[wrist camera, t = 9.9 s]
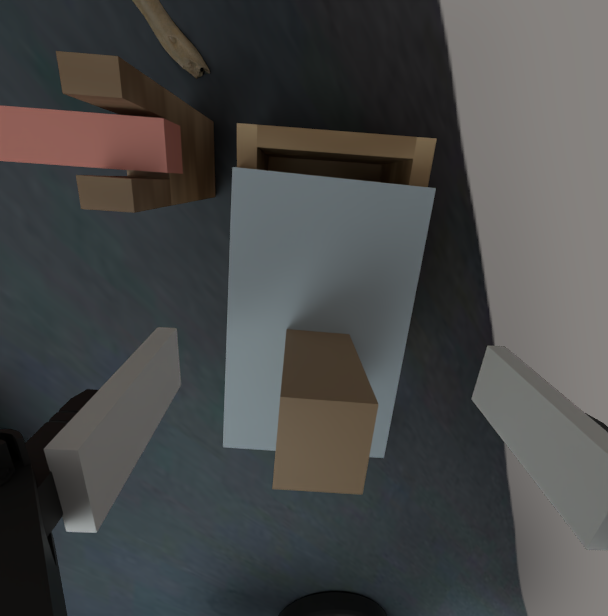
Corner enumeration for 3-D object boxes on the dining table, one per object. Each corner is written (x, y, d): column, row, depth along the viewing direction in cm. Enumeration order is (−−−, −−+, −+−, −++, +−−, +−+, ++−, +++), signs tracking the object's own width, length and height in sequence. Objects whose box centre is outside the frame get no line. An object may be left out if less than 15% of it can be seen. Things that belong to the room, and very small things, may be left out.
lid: (375, 435, 23) (424, 574, 14) (229, 425, 23) (186, 562, 14) (420, 190, 19) (530, 173, 10) (239, 171, 18) (185, 136, 9)
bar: (182, 173, 16) (167, 172, 14) (-105, 153, 15) (-161, 149, 13) (180, 125, 15) (163, 118, 13) (-122, 102, 15) (-183, 91, 13)
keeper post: (215, 196, 25) (134, 212, 13) (188, 194, 25) (81, 208, 13) (213, 121, 24) (117, 56, 11) (184, 119, 23) (55, 50, 11)
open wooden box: (365, 348, 30) (387, 403, 23) (253, 341, 30) (237, 396, 22) (394, 151, 24) (436, 138, 17) (256, 141, 24) (236, 123, 17)
